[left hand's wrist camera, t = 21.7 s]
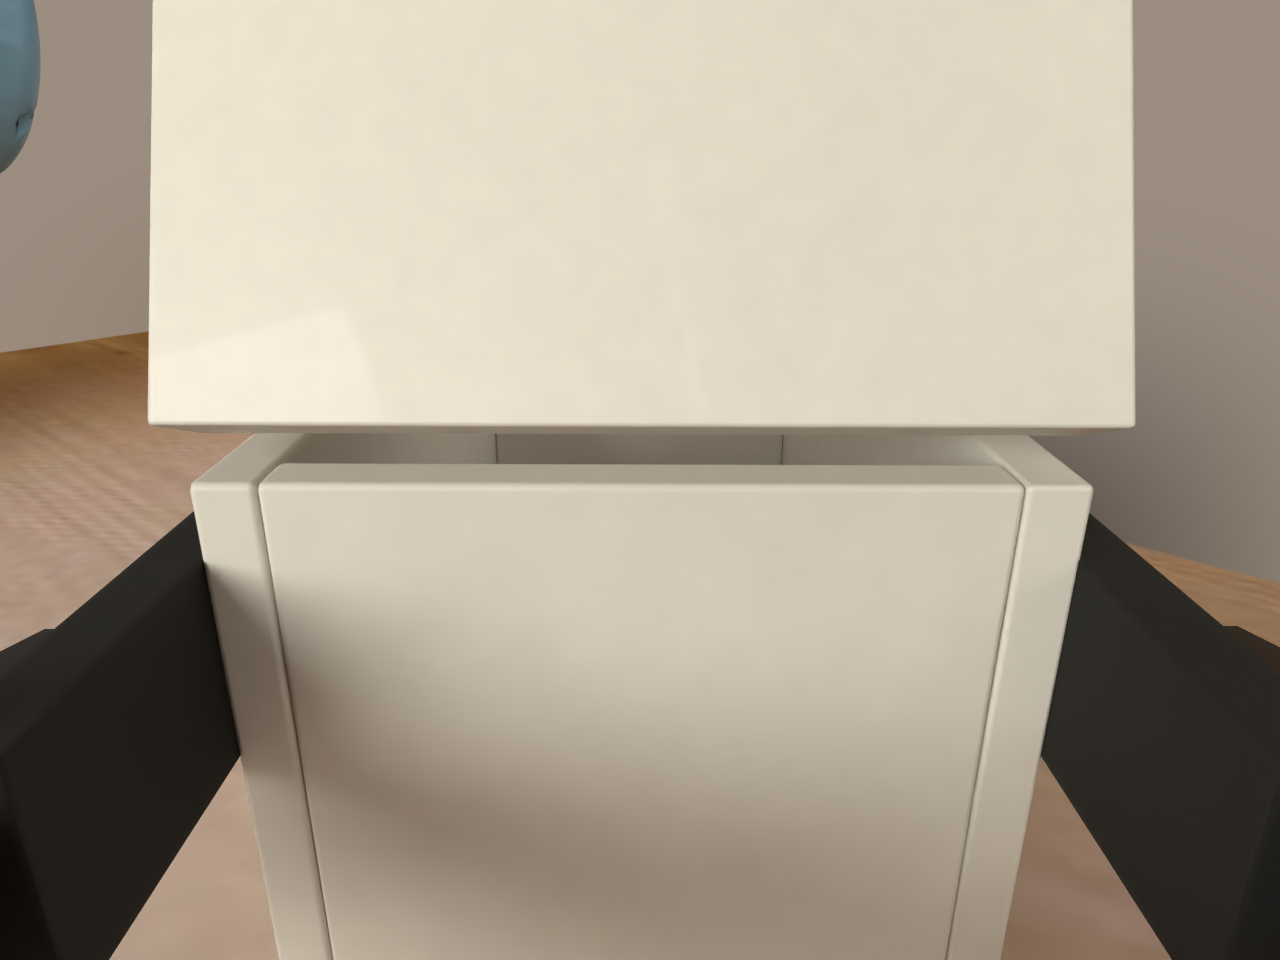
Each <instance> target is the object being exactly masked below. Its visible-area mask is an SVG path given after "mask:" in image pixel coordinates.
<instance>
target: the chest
mask: <svg viewBox="0 0 1280 960" xmlns="http://www.w3.org/2000/svg"><path fill="white" fill-rule="evenodd" d="M190 492H191V497H192V503H193V508H194V513H195V518H196V524H197V529H198V534H199V540H200V545H201V550H202V555H203V561H204V566H205V571H206V576H207V582H208V587H209V592H210V598H211V603H212V608H213V613H214V619H215V624H216V629H217V634H218V640H219V645H220V650H221V656H222V661H223V666H224V671H225V677H226V682H227V687H228V693H229V698H230V703H231V708H232V714H233V719H234V724H235V729H236V735H237V740H238V745H239V751H240V756H241V761H242V766H243V772H244V777H245V782H246V787H247V793H248V798H249V803H250V809H251V814H252V819H253V824H254V830H255V835H256V840H257V845H258V851H259V856H260V861H261V867H262V872H263V877H264V882H265V888H266V893H267V898H268V903H269V909H270V914H271V919H272V925H273V930H274V935H275V940H276V946H277V951H278V956H279V960H1000V958H1001V953H1002V948H1003V943H1004V938H1005V933H1006V928H1007V923H1008V917H1009V912H1010V907H1011V902H1012V897H1013V892H1014V887H1015V882H1016V877H1017V872H1018V867H1019V862H1020V857H1021V852H1022V847H1023V842H1024V837H1025V832H1026V827H1027V822H1028V817H1029V812H1030V807H1031V802H1032V797H1033V792H1034V787H1035V782H1036V777H1037V772H1038V767H1039V762H1040V757H1041V751H1042V746H1043V741H1044V736H1045V731H1046V726H1047V720H1048V715H1049V710H1050V705H1051V700H1052V695H1053V690H1054V685H1055V680H1056V674H1057V669H1058V664H1059V659H1060V654H1061V649H1062V644H1063V639H1064V633H1065V628H1066V623H1067V618H1068V613H1069V608H1070V603H1071V598H1072V593H1073V587H1074V582H1075V577H1076V572H1077V567H1078V562H1079V560H1080V556H1081V551H1082V546H1083V541H1084V536H1085V531H1086V526H1087V521H1088V516H1089V511H1090V506H1091V501H1092V495H1093V488H1092V486H1091V485H1090V484H1089V483H1087V482H1086V481H1085V480H1084V479H1082V478H1081V477H1080V476H1079V475H1077V474H1076V473H1075V472H1073V471H1072V470H1071V469H1070V468H1068V467H1067V466H1066V465H1064V464H1063V463H1062V462H1061V461H1059V460H1058V459H1057V458H1056V457H1054V456H1053V455H1052V454H1050V453H1049V452H1048V451H1047V450H1045V449H1044V448H1043V447H1042V446H1040V445H1039V444H1038V443H1037V442H1035V441H1034V440H1033V439H1031V438H1030V437H1029V436H1028V435H726V434H403V433H255V434H254V435H252V436H251V437H250V438H248V439H247V440H246V441H245V442H243V443H242V444H241V445H240V446H238V447H237V448H236V449H235V450H233V451H232V452H231V453H229V454H228V455H227V456H226V457H224V458H223V459H222V460H221V461H219V462H218V463H217V464H216V465H214V466H213V467H212V468H211V469H209V470H208V471H207V472H205V473H204V474H203V475H202V476H200V477H199V478H198V479H197V480H195V481H194V482H193V483H192V485H191V489H190Z"/></svg>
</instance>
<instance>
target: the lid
mask: <svg viewBox="0 0 1280 960" xmlns="http://www.w3.org/2000/svg"><path fill="white" fill-rule="evenodd" d="M151 121H152V122H151V202H150V284H149V366H148V422H149V424H150V425H153V426H159V427H166V428H173V429H180V430H186V431H193V432H200V433H403V434H726V435H1050V436H1051V435H1053V436H1056V435H1057V436H1080V435H1087V434H1095V433H1102V432H1110V431H1117V430H1124V429H1130V428H1133V427H1134V426H1135V285H1134V284H1135V283H1134V126H1133V125H1134V124H1133V0H153V37H152V120H151Z"/></svg>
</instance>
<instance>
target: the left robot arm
mask: <svg viewBox="0 0 1280 960" xmlns="http://www.w3.org/2000/svg"><path fill="white" fill-rule="evenodd" d="M239 757H240V751H239V745H238V740H237V735H236V729H235V724H234V719H233V714H232V708H231V703H230V698H229V693H228V687H227V682H226V677H225V671H224V666H223V661H222V656H221V650H220V645H219V640H218V634H217V629H216V624H215V619H214V613H213V608H212V603H211V598H210V592H209V587H208V582H207V576H206V571H205V566H204V561H203V555H202V550H201V545H200V540H199V534H198V529H197V524H196V518H195V513H194V512H192V513H191V514H190V515H189V516H188V517H187V518H185V519H184V520H183V521H182V522H181V523H179V524H178V525H177V526H176V527H175V528H173V529H172V530H171V531H170V532H169V533H168V534H166V535H165V536H164V537H163V538H162V539H160V540H159V541H158V542H157V543H156V544H155V545H153V546H152V547H151V548H150V549H149V550H147V551H146V552H145V553H144V554H143V555H142V556H140V557H139V558H138V559H137V560H136V561H134V562H133V563H132V564H131V565H130V566H129V567H127V568H126V569H125V570H124V571H123V572H121V573H120V574H119V575H118V576H117V577H116V578H114V579H113V580H112V581H111V582H110V583H108V584H107V585H106V586H105V587H104V588H102V589H101V590H100V591H99V592H98V593H97V594H95V595H94V596H93V597H92V598H91V599H89V600H88V601H87V602H86V603H85V604H84V605H82V606H81V607H80V608H79V609H78V610H76V611H75V612H74V613H73V614H72V615H71V616H69V617H68V618H67V619H66V620H65V621H63V622H62V623H61V624H60V625H59V626H58V627H56V628H55V629H44V630H42V631H40V632H38V633H36V634H34V635H32V636H30V637H28V638H26V639H24V640H22V641H20V642H18V643H16V644H14V645H12V646H10V647H8V648H6V649H4V650H2V651H0V960H109V959H110V957H111V956H112V954H113V953H114V951H115V950H116V948H117V946H118V945H119V943H120V942H121V940H122V939H123V937H124V936H125V934H126V932H127V931H128V929H129V928H130V926H131V925H132V923H133V922H134V920H135V918H136V917H137V915H138V914H139V912H140V911H141V909H142V908H143V906H144V904H145V903H146V901H147V900H148V898H149V897H150V895H151V894H152V892H153V890H154V889H155V887H156V886H157V884H158V883H159V881H160V880H161V878H162V876H163V875H164V873H165V872H166V870H167V869H168V867H169V866H170V864H171V862H172V861H173V859H174V858H175V856H176V855H177V853H178V852H179V850H180V848H181V847H182V845H183V844H184V842H185V841H186V839H187V838H188V836H189V834H190V833H191V831H192V830H193V828H194V827H195V825H196V824H197V822H198V820H199V819H200V817H201V816H202V814H203V813H204V811H205V810H206V808H207V806H208V805H209V803H210V802H211V800H212V799H213V797H214V796H215V794H216V792H217V791H218V789H219V788H220V786H221V785H222V783H223V782H224V780H225V778H226V777H227V775H228V774H229V772H230V771H231V769H232V768H233V766H234V764H235V763H236V761H237V760H238V758H239ZM1041 757H1042V758H1043V760H1044V761H1045V763H1046V764H1047V766H1048V768H1049V769H1050V771H1051V772H1052V774H1053V775H1054V777H1055V778H1056V780H1057V782H1058V783H1059V785H1060V786H1061V788H1062V789H1063V791H1064V792H1065V794H1066V796H1067V797H1068V799H1069V800H1070V802H1071V803H1072V805H1073V806H1074V808H1075V810H1076V811H1077V813H1078V814H1079V816H1080V817H1081V819H1082V820H1083V822H1084V824H1085V825H1086V827H1087V828H1088V830H1089V831H1090V833H1091V834H1092V836H1093V838H1094V839H1095V841H1096V842H1097V844H1098V845H1099V847H1100V848H1101V850H1102V852H1103V853H1104V855H1105V856H1106V858H1107V859H1108V861H1109V862H1110V864H1111V866H1112V867H1113V869H1114V870H1115V872H1116V873H1117V875H1118V876H1119V878H1120V880H1121V881H1122V883H1123V884H1124V886H1125V887H1126V889H1127V890H1128V892H1129V894H1130V895H1131V897H1132V898H1133V900H1134V901H1135V903H1136V904H1137V906H1138V908H1139V909H1140V911H1141V912H1142V914H1143V915H1144V917H1145V918H1146V920H1147V922H1148V923H1149V925H1150V926H1151V928H1152V929H1153V931H1154V932H1155V934H1156V935H1157V937H1158V939H1159V940H1160V942H1161V943H1162V945H1163V946H1164V948H1165V949H1166V951H1167V953H1168V954H1169V956H1170V957H1171V959H1172V960H1280V647H1278V646H1276V645H1274V644H1272V643H1270V642H1268V641H1266V640H1264V639H1262V638H1260V637H1258V636H1256V635H1254V634H1252V633H1250V632H1248V631H1246V630H1244V629H1242V628H1240V627H1238V626H1222V625H1221V624H1220V623H1219V622H1218V621H1217V620H1215V619H1214V618H1213V617H1212V616H1211V615H1209V614H1208V613H1207V612H1206V611H1205V610H1203V609H1202V608H1201V607H1200V606H1199V605H1198V604H1196V603H1195V602H1194V601H1193V600H1192V599H1190V598H1189V597H1188V596H1187V595H1186V594H1185V593H1183V592H1182V591H1181V590H1180V589H1179V588H1177V587H1176V586H1175V585H1174V584H1173V583H1172V582H1170V581H1169V580H1168V579H1167V578H1166V577H1164V576H1163V575H1162V574H1161V573H1160V572H1158V571H1157V570H1156V569H1155V568H1154V567H1153V566H1151V565H1150V564H1149V563H1148V562H1147V561H1145V560H1144V559H1143V558H1142V557H1141V556H1140V555H1138V554H1137V553H1136V552H1135V551H1134V550H1132V549H1131V548H1130V547H1129V546H1128V545H1127V544H1125V543H1124V542H1123V541H1122V540H1121V539H1119V538H1118V537H1117V536H1116V535H1115V534H1113V533H1112V532H1111V531H1110V530H1109V529H1108V528H1106V527H1105V526H1104V525H1103V524H1102V523H1100V522H1099V521H1098V520H1097V519H1096V518H1094V517H1093V516H1092V515H1091V514H1090V513H1089V516H1088V521H1087V526H1086V531H1085V536H1084V541H1083V546H1082V551H1081V556H1080V560H1079V562H1078V567H1077V572H1076V577H1075V582H1074V587H1073V593H1072V598H1071V603H1070V608H1069V613H1068V618H1067V623H1066V628H1065V633H1064V639H1063V644H1062V649H1061V654H1060V659H1059V664H1058V669H1057V674H1056V680H1055V685H1054V690H1053V695H1052V700H1051V705H1050V710H1049V715H1048V720H1047V726H1046V731H1045V736H1044V741H1043V746H1042V751H1041Z"/></svg>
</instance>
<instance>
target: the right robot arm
mask: <svg viewBox="0 0 1280 960" xmlns="http://www.w3.org/2000/svg"><path fill="white" fill-rule="evenodd" d="M39 83H40V41H39V31H38V23H37V17H36V11H35V5H34V0H0V173H2V172H3V171H5V170H6V169H7V168H8V167H9V166H10V165H11V164H12V162H13V161H14V160H15V159H16V157H17V156H18V154H19V153H20V151H21V149H22V148H23V146H24V144H25V142H26V140H27V137H28V135H29V132H30V129H31V125H32V120H33V114H34V110H35V107H36V106H37V100H38V92H39Z"/></svg>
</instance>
